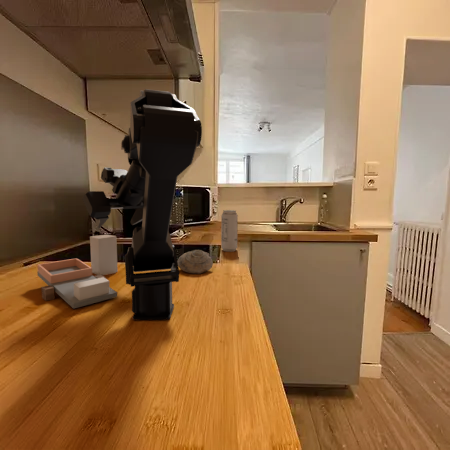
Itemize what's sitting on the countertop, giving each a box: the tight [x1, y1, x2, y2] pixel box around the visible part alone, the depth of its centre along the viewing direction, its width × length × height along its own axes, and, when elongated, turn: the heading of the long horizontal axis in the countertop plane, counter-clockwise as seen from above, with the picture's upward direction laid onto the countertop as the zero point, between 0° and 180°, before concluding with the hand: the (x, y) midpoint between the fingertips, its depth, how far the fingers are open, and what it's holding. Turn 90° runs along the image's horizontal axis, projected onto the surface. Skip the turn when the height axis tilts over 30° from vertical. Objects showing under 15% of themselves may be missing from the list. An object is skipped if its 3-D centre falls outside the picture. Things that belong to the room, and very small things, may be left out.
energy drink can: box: [220, 209, 239, 253], centre depth 114 cm, size 6×6×15 cm
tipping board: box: [36, 257, 118, 309], centre depth 67 cm, size 21×9×4 cm, turn 47°
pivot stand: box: [41, 275, 106, 302], centre depth 67 cm, size 2×13×2 cm, turn 137°
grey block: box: [89, 234, 118, 276], centre depth 83 cm, size 5×5×10 cm
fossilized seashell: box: [177, 249, 214, 275], centre depth 88 cm, size 11×11×7 cm
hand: (115, 225), depth 77 cm, fingers open, 9 cm apart
